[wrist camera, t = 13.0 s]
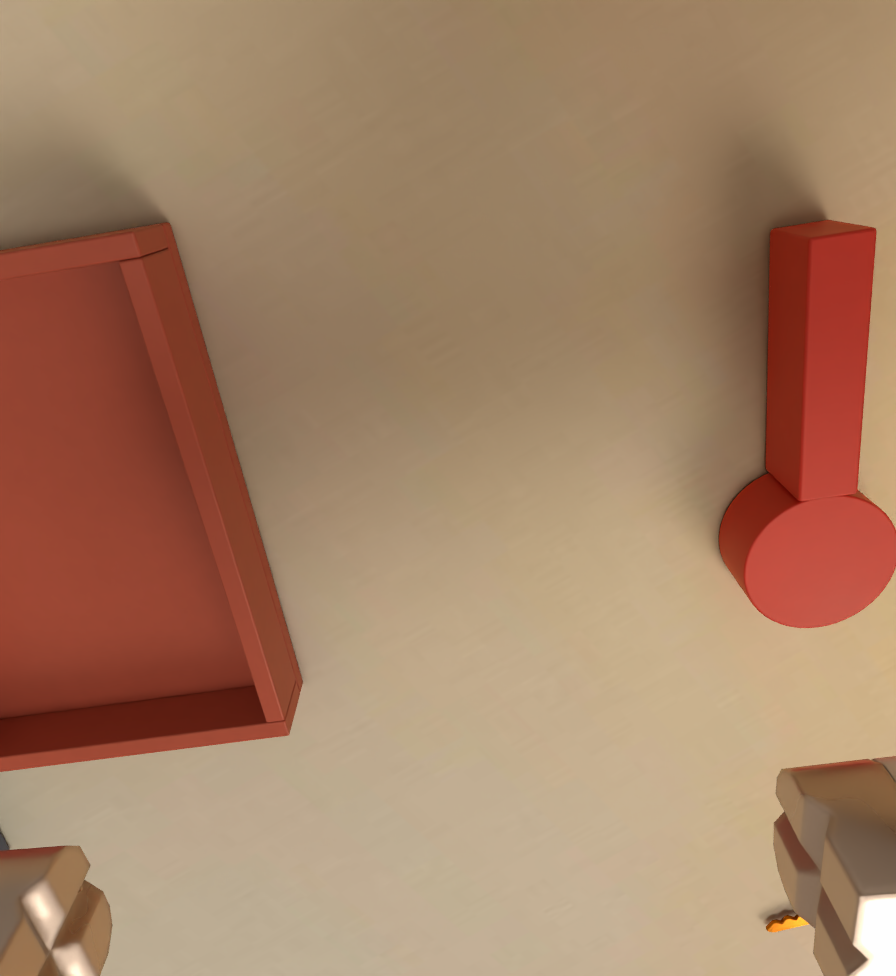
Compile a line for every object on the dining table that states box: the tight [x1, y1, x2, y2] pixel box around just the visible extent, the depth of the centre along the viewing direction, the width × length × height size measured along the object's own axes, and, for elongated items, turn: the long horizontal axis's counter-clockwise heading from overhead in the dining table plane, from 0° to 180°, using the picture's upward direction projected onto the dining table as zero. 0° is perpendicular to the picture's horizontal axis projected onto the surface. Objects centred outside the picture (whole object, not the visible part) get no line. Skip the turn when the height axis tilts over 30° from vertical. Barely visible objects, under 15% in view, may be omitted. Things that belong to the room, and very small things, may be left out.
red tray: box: [0, 222, 303, 772], centre depth 22 cm, size 15×11×3 cm
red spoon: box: [719, 220, 896, 628], centre depth 21 cm, size 11×4×2 cm, turn 9°
